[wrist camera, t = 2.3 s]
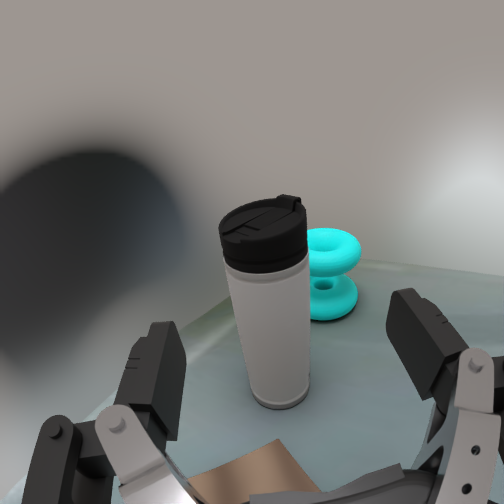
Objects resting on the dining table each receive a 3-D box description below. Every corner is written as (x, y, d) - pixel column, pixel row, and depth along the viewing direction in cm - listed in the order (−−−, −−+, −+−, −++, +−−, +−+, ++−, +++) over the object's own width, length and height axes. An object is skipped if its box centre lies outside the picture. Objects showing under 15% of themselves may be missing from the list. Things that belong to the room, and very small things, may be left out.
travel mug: (322, 381, 29) (327, 201, 19) (281, 420, 25) (259, 235, 16) (281, 355, 33) (264, 189, 24) (240, 388, 29) (197, 215, 20)
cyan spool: (377, 242, 34) (316, 269, 31) (370, 304, 39) (315, 335, 35) (328, 219, 42) (270, 238, 39) (328, 275, 47) (276, 298, 43)
